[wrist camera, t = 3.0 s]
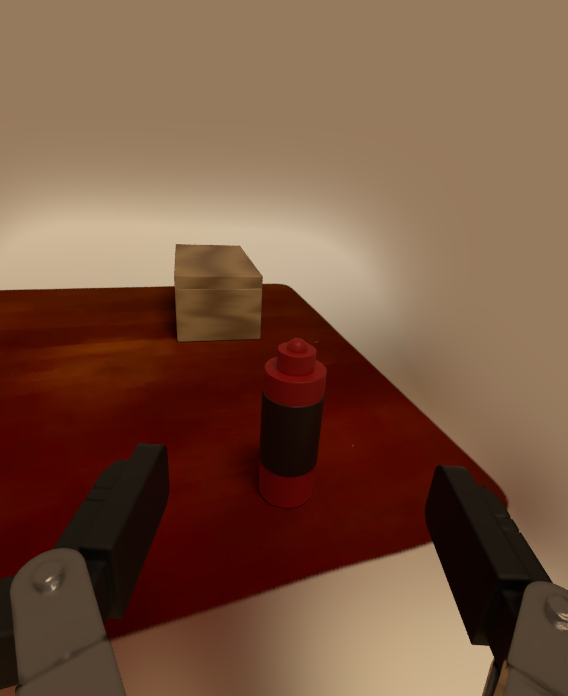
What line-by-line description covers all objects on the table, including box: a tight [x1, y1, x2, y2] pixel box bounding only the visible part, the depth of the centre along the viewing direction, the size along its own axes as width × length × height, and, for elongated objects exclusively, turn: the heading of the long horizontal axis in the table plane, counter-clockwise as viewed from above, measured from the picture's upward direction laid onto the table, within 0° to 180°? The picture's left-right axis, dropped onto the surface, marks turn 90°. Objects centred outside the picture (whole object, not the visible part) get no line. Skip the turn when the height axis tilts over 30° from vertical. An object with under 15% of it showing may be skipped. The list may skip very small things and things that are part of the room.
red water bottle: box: [259, 338, 327, 508], centre depth 24 cm, size 4×4×11 cm
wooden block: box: [174, 244, 263, 342], centre depth 56 cm, size 10×20×8 cm, turn 13°
